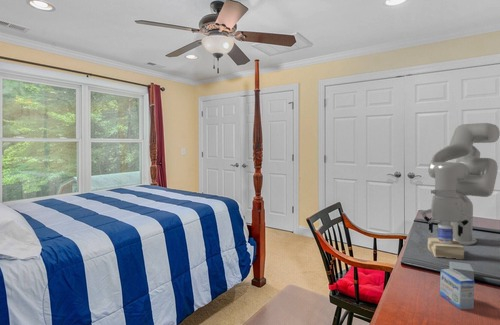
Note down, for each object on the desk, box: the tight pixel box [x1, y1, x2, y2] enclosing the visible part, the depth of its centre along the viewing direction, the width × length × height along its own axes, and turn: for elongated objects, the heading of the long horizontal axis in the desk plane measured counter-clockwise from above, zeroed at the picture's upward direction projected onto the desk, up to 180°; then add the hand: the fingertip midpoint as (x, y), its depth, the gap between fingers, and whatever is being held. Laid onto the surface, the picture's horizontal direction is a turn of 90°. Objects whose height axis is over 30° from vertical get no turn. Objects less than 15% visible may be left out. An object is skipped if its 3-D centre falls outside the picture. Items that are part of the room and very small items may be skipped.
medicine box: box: [439, 268, 475, 311], centre depth 85 cm, size 8×4×9 cm, turn 5°
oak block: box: [427, 237, 465, 260], centre depth 119 cm, size 10×10×5 cm
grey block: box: [448, 261, 475, 281], centre depth 100 cm, size 6×6×4 cm
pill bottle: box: [437, 221, 453, 244], centre depth 119 cm, size 5×5×10 cm
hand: (445, 233), depth 119 cm, fingers open, 9 cm apart
